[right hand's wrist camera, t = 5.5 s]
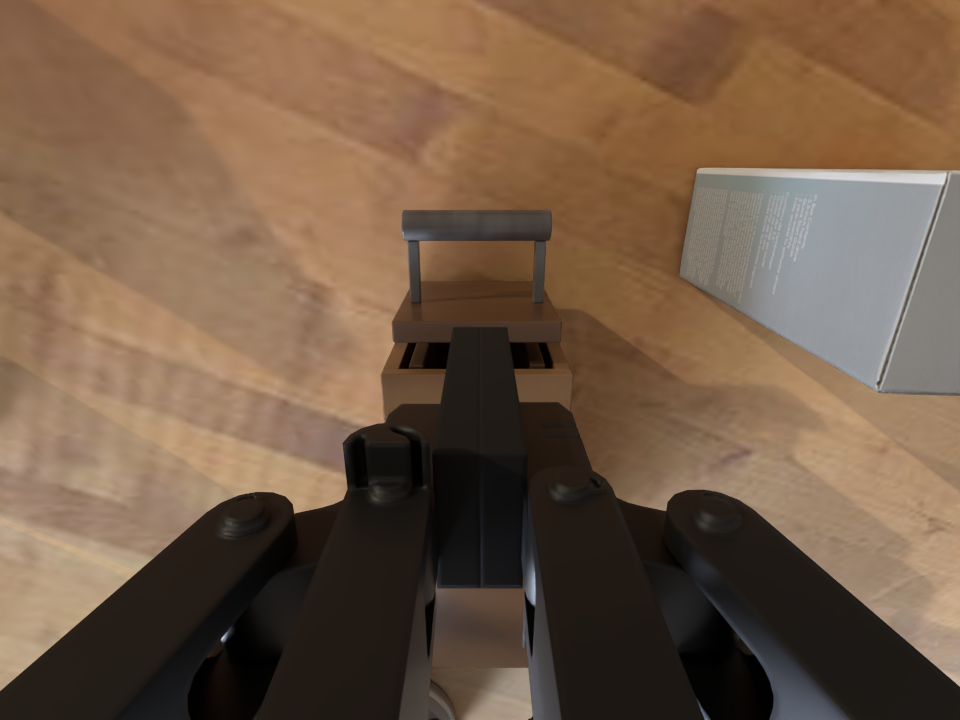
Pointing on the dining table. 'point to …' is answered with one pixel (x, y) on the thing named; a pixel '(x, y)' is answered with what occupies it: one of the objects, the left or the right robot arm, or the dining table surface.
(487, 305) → the drawer
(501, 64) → the dining table surface
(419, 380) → the cabinet
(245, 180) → the dining table surface
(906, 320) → the hard drive box
